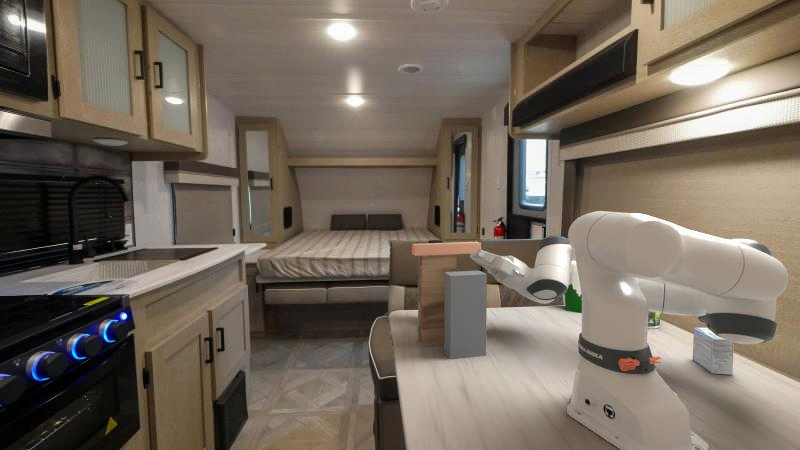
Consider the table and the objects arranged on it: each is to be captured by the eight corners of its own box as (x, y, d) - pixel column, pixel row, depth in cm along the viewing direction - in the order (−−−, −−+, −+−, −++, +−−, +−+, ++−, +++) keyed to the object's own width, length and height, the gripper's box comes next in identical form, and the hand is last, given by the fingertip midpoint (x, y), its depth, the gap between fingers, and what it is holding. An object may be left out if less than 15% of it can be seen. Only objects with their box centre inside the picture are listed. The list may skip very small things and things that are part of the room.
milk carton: (589, 314, 130) (590, 259, 128) (562, 310, 135) (563, 257, 134) (593, 308, 137) (594, 256, 136) (567, 304, 142) (568, 254, 141)
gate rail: (481, 253, 105) (481, 242, 105) (414, 255, 101) (414, 245, 101) (477, 251, 108) (477, 241, 108) (412, 254, 104) (411, 243, 104)
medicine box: (733, 375, 85) (735, 339, 84) (711, 374, 86) (713, 338, 85) (711, 361, 93) (713, 327, 92) (691, 359, 94) (693, 326, 93)
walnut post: (456, 344, 105) (456, 254, 103) (422, 347, 102) (422, 256, 101) (450, 337, 109) (450, 252, 108) (418, 340, 107) (417, 253, 106)
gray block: (486, 355, 97) (486, 274, 95) (450, 359, 95) (450, 276, 93) (478, 348, 102) (478, 270, 100) (444, 351, 100) (444, 272, 98)
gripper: (521, 288, 99) (481, 265, 96) (488, 273, 119) (454, 253, 116) (532, 268, 100) (492, 244, 97) (498, 256, 120) (464, 236, 117)
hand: (471, 249), depth 107 cm, fingers open, 8 cm apart
